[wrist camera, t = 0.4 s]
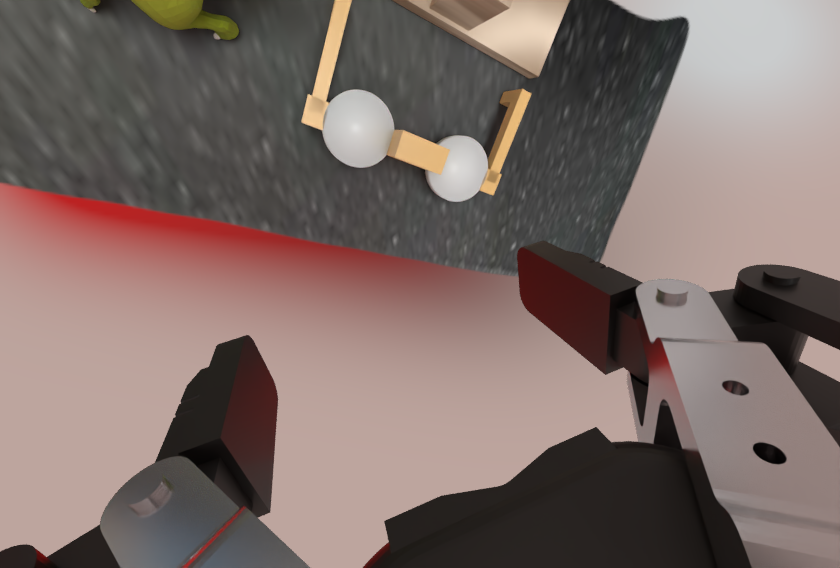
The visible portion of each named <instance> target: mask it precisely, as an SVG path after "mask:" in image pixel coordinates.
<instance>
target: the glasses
mask: <svg viewBox="0 0 840 568" xmlns="http://www.w3.org/2000/svg"><path fill="white" fill-rule="evenodd" d="M351 1H352V0H334V4H333V8H332V13H331V19H330V23H329V27H328V31H327V36H326V40H325V44H324V48H323V52H322V56H321V60H320V65H319V69H318V73H317V77H316V81H315V85H314V89H313V94H312V96H311V95H309V94H308V96H307V100H306V104H305V109H304V113H303V117H302V121H301V123H304V124H307V125H309V126H312V127H314V128H317V129H320V130H322V135H323V138H324V141H325V144H326V146H327V147H328V149H329V150H330V152H331V153H332V154H333V155H334V156H335V157H336V158H337V159H339V160H340V161H341V162H343V163H345V164H347V165H349V166H352V167H358V168H364V167H369V166H372V165H375V164H377V163H378V162H380V161H381V160H382V159H383V158H384V157H385V156H386V155H387V156H390V157H392V158H395V159H398V160H400V161H403V162H406V163H408V164H411V165H413V166H416V167H419V168H422V169H425V175H426V180H427V182H428V185H429V186H430V188H431V189H432V191H433V192H434V193H435V194H437V195H438V196H440V197H442V198H444V199H446V200H448V201H453V202H460V201H464V200H467V199H469V198H471V197H473V196H474V195H475V194H476V193H477V192H478V191H479V190H480V191H482V192H485V193H488V194H491V195H494V193H495V190H496V188H497V185H498V183H499V180H500V178H501V175H502V174H499V173H500V170H501V168H502V165H503V163H504V161H505V158H506V156H507V153H508V151H509V148H510V146H511V143H512V141H513V138H514V136H515V133H516V131H517V128H518V126H519V123H520V121H521V119H522V116H523V114H524V111H525V109H526V106H527V104H528V101H529V99H530V96H531V93H529V92H527V91H526V90H524V89H518V90H512V91H506V92H503V95H502V97H501V100H500V104H502V105H504V106H506V107H508V109H507V112H506V114H505V117H504V120H503V122H502V125H501V127H500V130H499V132H498V135H497V137H496V140H495V143H494V145H493V148H492V150H491V153H490V155H489V158H488V160H487V156H486V153H485V151H484V149H483V147H482V146H481V145H480V144H479V143H478V142H477V141H476V140H474V139H473V138H470V137H468V136H459V135H453V136H448V137H445V138H443V139H441V140H440V141H438V142H437V143H436V144H435V143H433V142H430V141H428V140H426V139H423V138H421V137H418V136H416V135H414V134H411V133H409V132H406V131H404V130H394V123H393V118H392V116H391V113H390V111H389V109H388V108H387V106H386V105H385V104H384V102H383V101H382V100H381V99H379V98H378V97H377V96H375V95H374V94H372V93H370V92H367V91H364V90H349V91H345V92H343V93H341V94H339V95H337V96H336V97H335V98H334V99H332V100H331V102H330V103H328V102H326V99H327V95H328V91H329V87H330V84H331V80H332V76H333V72H334V68H335V64H336V60H337V56H338V52H339V48H340V44H341V40H342V36H343V32H344V28H345V24H346V20H347V16H348V12H349V8H350V4H351Z"/></svg>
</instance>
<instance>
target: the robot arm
mask: <svg viewBox="0 0 840 568" xmlns="http://www.w3.org/2000/svg"><path fill="white" fill-rule="evenodd" d="M517 261H518V275H519V288H520V296H521V300H522V302H523V304H524V306H525V308H526V309H527V310H528V311H529V312H530V313H531V314H532V315H533V316H535V317H536V318H537V319H538V320H539V321H541V322H542V323H543V324H544V325H546V326H547V327H548V328H549V329H550V330H552V331H553V332H554V333H555V334H557V335H558V336H559V337H560V338H561V339H563V340H564V341H565V342H566V343H568V344H569V345H570V346H571V347H572V348H574V349H575V350H576V351H577V352H578V353H580V354H581V355H582V356H583V357H584V358H586V359H587V360H588V361H589V362H591V363H592V364H593V365H594V366H595V367H597V368H598V369H599V370H600V371H602V372H603V373H604V374H605V375H606V374H608V373H611V372H613V371H616V370H618V369H620V368H623V367H624V368H625V369H627V370H628V374H627V384H628V390H629V395H630V400H631V406H632V411H633V416H634V422H635V427H636V432H637V438H638V442H631V441H626V442H610V441H609V440H608V439H607V438H606V437H605V436H604V435H603V434H602V433H601V432H600V431H599V429H598V428H597V427H595V428H593V429H591V430H588V431H586V432H584V433H582V434H579V435H577V436H575V437H573V438H570V439H568V440H566V441H564V442H561V443H559V444H557V445H555V446H552V447H550V448H548V449H547V450H546V451H545V452H544V453H542V454H541V455H540V456H539V457H538V458H536V459H535V460H534V461H533V462H532V463H531V464H530V465H528V466H527V467H526V468H525V469H524V470H522V471H521V472H520V473H519V474H518V475H517V476H515V477H514V478H513V479H512V480H511V481H509V482H508V483H506V484H504V485H502V486H498V487H493V488H486V489H480V490H475V491H468V492H462V493H456V494H450V495H444V496H440V497H438V498H436V499H433V500H431V501H429V502H426V503H424V504H422V505H420V506H417V507H415V508H413V509H411V510H408V511H406V512H404V513H402V514H399V515H397V516H395V517H393V518H390V519H388V520H386V521H385V526H386V531H387V535H388V540H389V542H388V543H387V544H386V545H385V546H384V547H382V548H381V549H380V550H379V551H378V552H377V553H376V554H375V555H374V556H373V557H372V558H371V559H370V560H369V561H368V562H367V563H366V564H365V566H364V567H363V568H840V382H838V381H836V380H834V379H832V378H831V377H829V376H827V375H825V374H823V373H821V372H819V371H817V370H815V369H813V368H811V367H809V366H807V365H805V364H803V363H801V362H799V359H800V356H801V354H802V351H803V349H804V346H805V343H806V341H807V338H808V336H810V337H813V338H815V339H817V340H819V341H821V342H824V343H826V344H828V345H830V346H832V347H835V348H837V349H839V350H840V281H838V280H834V279H832V278H828V277H825V276H822V275H819V274H816V273H812V272H810V271H806V270H803V269H799V268H795V267H790V266H782V265H756V266H750V267H746V268H744V269H742V270H741V271H740V272H739V273H738V277H737V281H736V285H735V289H730V290H722V291H715V292H707V291H706V290H705V289H704V288H702V287H700V286H698V285H696V284H693V283H690V282H686V281H682V280H674V279H657V280H651V281H647V282H644V283H642V282H640V281H638V280H636V279H634V278H631V277H629V276H627V275H625V274H623V273H621V272H619V271H616V270H614V269H612V268H610V267H606V266H605V265H604V264H602V263H599V262H595V261H594V260H593V259H591V258H589V257H587V256H584V255H582V254H579V253H574V252H569V251H565V250H563V249H560V248H558V247H556V246H554V245H552V244H550V243H548V242H546V241H540V242H537V243H534V244H531V245H528V246H525V247H522V248H520V249H519V250H518V253H517ZM277 406H278V396H277V390H276V386H275V383H274V380H273V378H272V376H271V374H270V372H269V370H268V368H267V366H266V364H265V362H264V360H263V358H262V356H261V355H260V353H259V351H258V349H257V347H256V345H255V343H254V341H253V339H252V338H251V337H250V336H248V335H246V336H243V337H240V338H237V339H233V340H230V341H228V342H224V343H221V344H218V345H217V346H216V349H215V352H214V354H213V357H212V360H211V363H210V366H209V367H208V368H205V369H202V370H200V372H199V373H198V374H197V375H196V376H195V377H194V378H193V379H192V381H191V382H190V383H189V384H188V385H187V388H186V389H185V392H184V394H183V397H182V399H181V404H179V406H178V409H177V411H176V414H175V415H176V417H175V418H173V421H172V423H171V425H170V428H169V430H168V433H167V435H166V437H165V440H164V442H163V445H162V447H161V449H160V452H159V454H158V457H157V459H156V461H155V463H154V464H152V465H150V466H148V467H147V468H145V469H143V470H142V471H140V472H139V473H138V474H136V475H135V476H134V477H132V478H131V479H130V480H129V481H128V482H126V483H125V484H124V485H123V486H122V487H121V488H120V489H119V490H118V492H117V493H116V494H115V495H114V496H113V498H112V499H111V500H110V502H109V503H108V505H107V506H106V508H105V510H104V512H103V515H102V517H101V521H100V525H98V526H97V527H95V528H94V529H92V530H91V531H89V532H87V533H85V534H84V535H82V536H80V537H79V538H77V539H76V540H74V541H72V542H71V543H69V544H67V545H66V546H64V547H63V548H61V549H59V550H58V551H56V552H54V553H53V554H51V555H50V556H48V557H46V556H44V555H43V554H42V553H40V552H39V551H38V550H37V549H35V548H34V547H33V546H30V545H17V546H13V547H10V548H8V549H5V550H3V551H1V552H0V568H310V567H309V566H308V565H307V564H306V563H305V562H304V561H303V560H302V559H300V558H299V557H298V556H297V555H296V554H295V553H294V552H293V551H292V550H291V549H290V548H289V547H288V546H287V545H286V544H285V543H284V542H282V541H281V540H280V539H279V538H278V537H277V536H276V535H275V534H274V533H273V532H272V531H271V530H270V529H269V528H268V527H267V526H266V525H265V524H263V523H262V522H261V521H260V520H259V519H258V517H260V516H262V515H265V514H267V513H270V507H271V493H272V479H273V464H274V450H275V435H276V421H277Z"/></svg>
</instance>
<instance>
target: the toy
mask: <svg viewBox="0 0 840 568" xmlns="http://www.w3.org/2000/svg"><path fill="white" fill-rule="evenodd" d="M80 1H81V3H82V4H83V5H84V6H85V7H87V8H88V9H89V10H90V11H92V12H97V11H96V10H95V9H94V8H93V6H97V5H99V3H100V0H80ZM131 1H132V2H133V3H135V4H136V5H137V6H138V7H139V8H140V9H141V10H142V11H143V12H145V13H146V14H147V15H148V16H149V17H150V18H152V19H153V20H154V21H156V22H157V23H159V24H160V25H162V26H165V27H167V28H170V29H174V30H184V29H191V28H203V29H210V30H214V31H215V33H214V38H215V39H217V40H219V39H226V40H231V39H234V38H236V37H237V35H238V34H239V29H238V26H237V24H236V23H235V22H233V21H232V20H231V19H230V18H229V17H226V16H223V15H216V14H211V13H208V12H205V11H204V10H202V5H203V0H131Z"/></svg>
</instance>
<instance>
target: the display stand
mask: <svg viewBox="0 0 840 568" xmlns="http://www.w3.org/2000/svg"><path fill="white" fill-rule="evenodd" d="M392 1H394V2H396V3H398V4H399V5H401V6H403V7H405V8H406V9H408V10H410V11H412V12H413V13H415V14H417V15H419V16H420V17H422V18H424V19H426V20H427V21H429V22H431V23H433V24H434V25H436V26H438V27H440V28H441V29H443V30H445V31H447V32H448V33H450V34H452V35H454V36H455V37H457V38H459V39H461V40H462V41H464V42H466V43H468V44H469V45H471V46H473V47H475V48H476V49H478V50H480V51H482V52H483V53H485V54H487V55H489V56H490V57H492V58H494V59H496V60H497V61H499V62H501V63H503V64H504V65H506V66H508V67H510V68H511V69H513V70H515V71H517V72H518V73H520V74H522V75H524V76H525V77H527V78H529V79H530V78H535V77H539V74H540V72H541V70H542V67H543V65H544V62H545V60H546V57H547V55H548V52H549V50H550V47H551V45H552V42H553V40H554V37H555V35H556V32H557V30H558V27H559V25H560V23H561V20H562V18H563V15H564V13H565V10H566V8H567V5H568V3H569V0H392Z"/></svg>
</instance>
